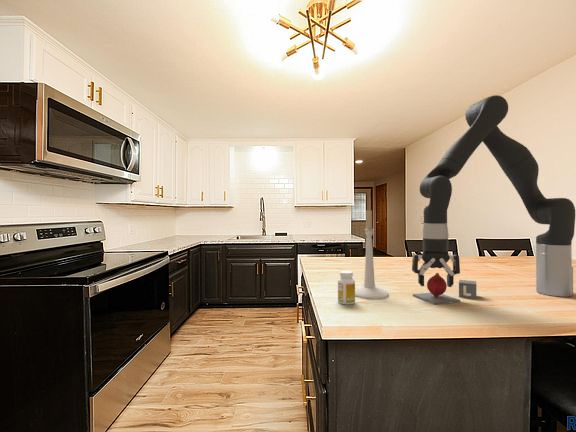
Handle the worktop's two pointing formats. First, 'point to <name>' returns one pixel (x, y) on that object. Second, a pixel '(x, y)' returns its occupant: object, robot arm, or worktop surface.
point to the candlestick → (369, 268)
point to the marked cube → (467, 289)
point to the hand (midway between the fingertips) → (435, 286)
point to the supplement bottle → (346, 288)
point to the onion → (436, 285)
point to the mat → (436, 298)
